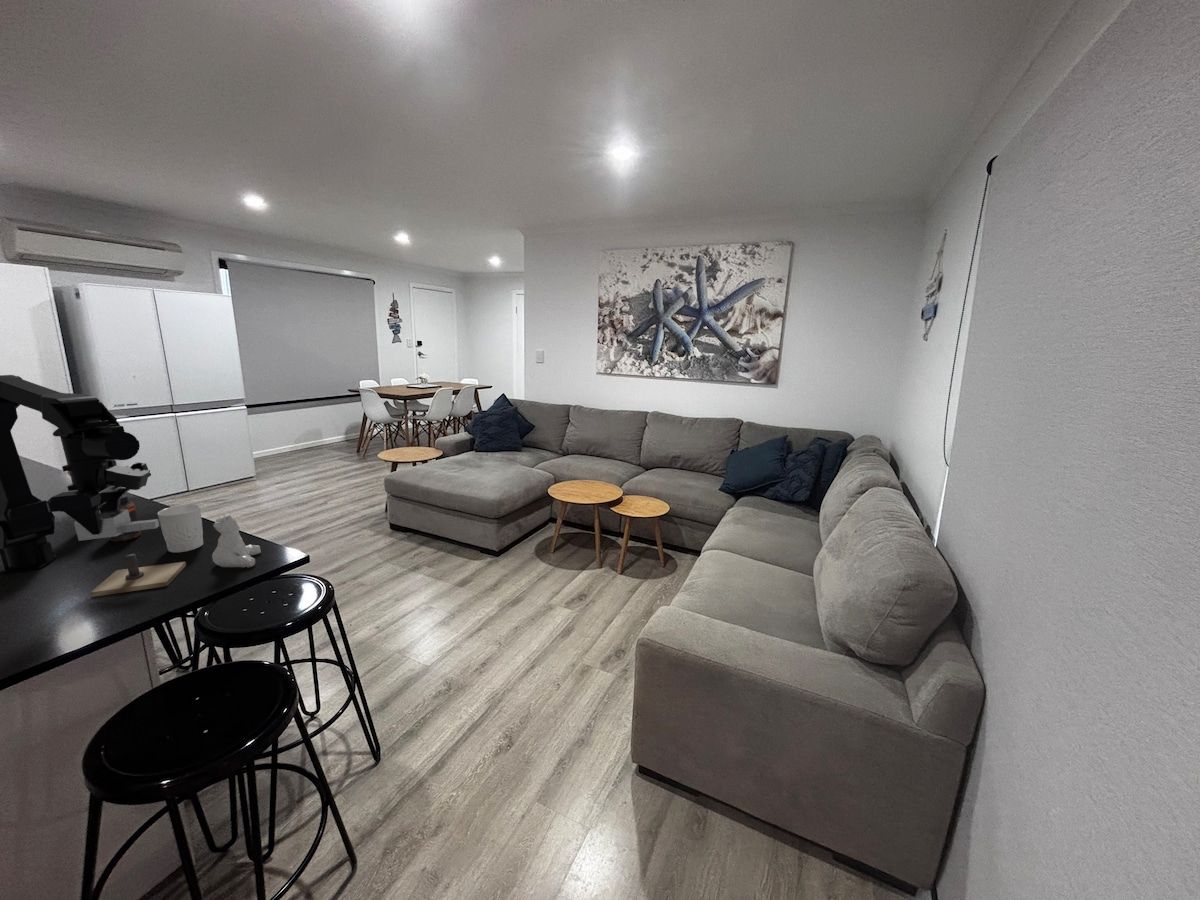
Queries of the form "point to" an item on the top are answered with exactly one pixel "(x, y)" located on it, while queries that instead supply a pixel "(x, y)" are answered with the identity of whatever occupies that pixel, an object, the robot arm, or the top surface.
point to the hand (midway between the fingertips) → (105, 528)
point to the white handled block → (115, 525)
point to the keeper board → (138, 577)
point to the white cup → (181, 527)
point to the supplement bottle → (133, 517)
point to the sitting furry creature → (232, 545)
